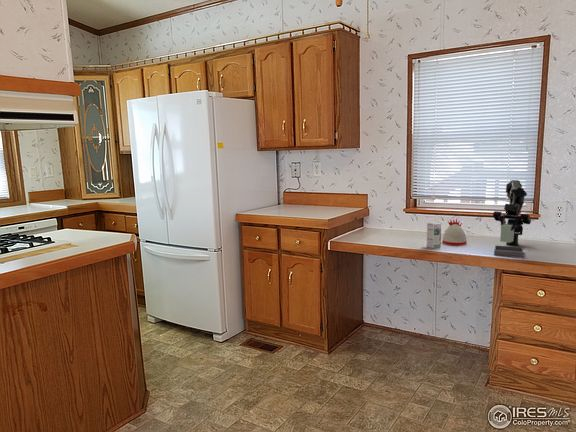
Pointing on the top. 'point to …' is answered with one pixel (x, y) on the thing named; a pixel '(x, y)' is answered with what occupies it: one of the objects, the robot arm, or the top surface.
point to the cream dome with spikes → (454, 234)
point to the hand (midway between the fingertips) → (506, 229)
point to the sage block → (506, 233)
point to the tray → (508, 251)
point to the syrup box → (434, 234)
